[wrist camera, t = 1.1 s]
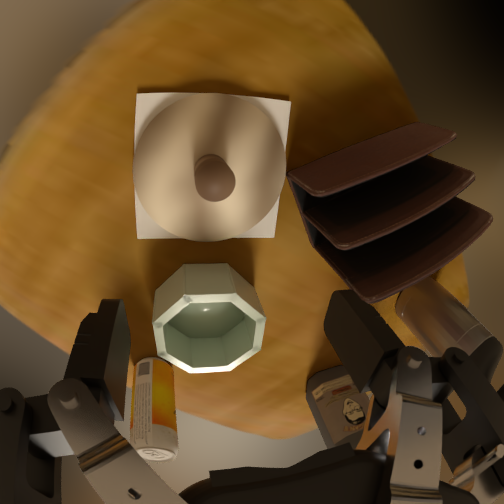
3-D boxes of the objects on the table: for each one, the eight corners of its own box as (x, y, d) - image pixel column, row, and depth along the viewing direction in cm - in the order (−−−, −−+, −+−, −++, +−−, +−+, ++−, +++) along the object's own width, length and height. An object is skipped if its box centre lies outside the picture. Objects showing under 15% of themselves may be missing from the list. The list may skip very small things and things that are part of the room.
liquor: (344, 386, 53) (405, 502, 27) (303, 399, 52) (357, 525, 26) (351, 360, 48) (427, 490, 23) (306, 374, 47) (373, 520, 21)
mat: (289, 101, 26) (291, 101, 25) (272, 235, 33) (273, 237, 32) (137, 94, 22) (136, 93, 22) (138, 236, 29) (137, 238, 29)
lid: (290, 101, 25) (315, 100, 20) (273, 237, 32) (291, 264, 27) (136, 93, 22) (123, 88, 17) (137, 238, 29) (128, 267, 24)
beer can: (149, 383, 40) (150, 466, 27) (126, 362, 37) (119, 450, 24) (180, 372, 40) (188, 459, 27) (158, 349, 37) (159, 443, 24)
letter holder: (426, 187, 35) (501, 226, 22) (310, 246, 35) (370, 318, 23) (415, 120, 30) (502, 142, 17) (283, 172, 30) (351, 220, 18)
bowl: (257, 262, 34) (271, 291, 29) (248, 336, 39) (257, 368, 34) (152, 263, 31) (147, 295, 26) (161, 340, 37) (161, 374, 31)
